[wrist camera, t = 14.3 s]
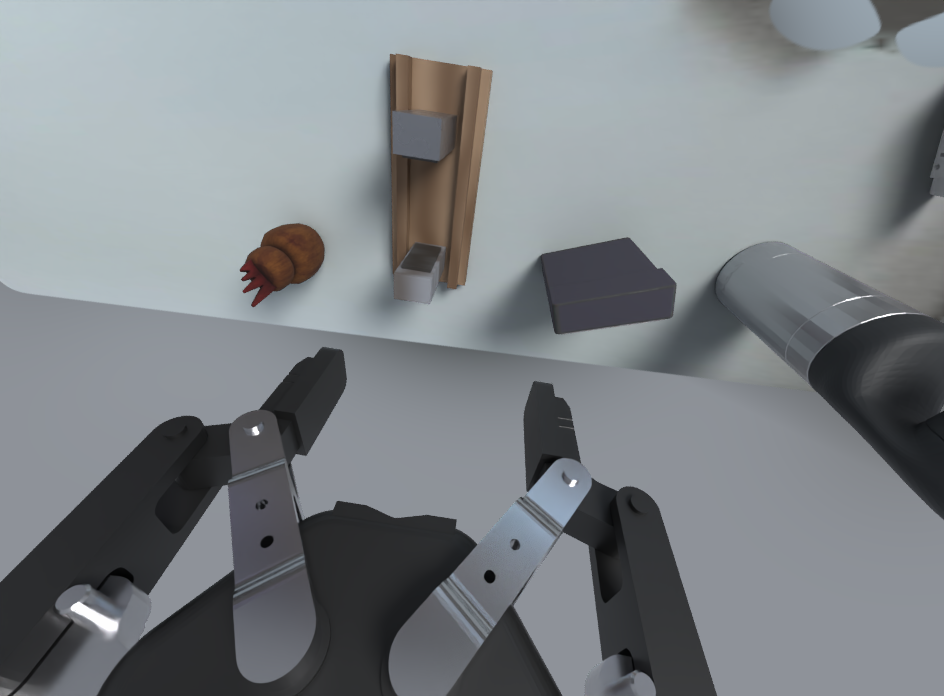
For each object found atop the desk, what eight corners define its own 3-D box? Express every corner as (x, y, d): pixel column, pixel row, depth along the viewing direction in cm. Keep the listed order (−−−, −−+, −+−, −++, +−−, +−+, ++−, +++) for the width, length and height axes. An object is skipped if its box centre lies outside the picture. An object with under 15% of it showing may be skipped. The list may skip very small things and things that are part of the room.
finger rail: (492, 71, 34) (486, 59, 24) (465, 280, 47) (455, 323, 38) (394, 55, 34) (350, 37, 24) (395, 269, 47) (368, 310, 38)
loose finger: (457, 115, 35) (441, 118, 27) (454, 152, 37) (438, 166, 29) (419, 109, 35) (392, 110, 27) (418, 147, 37) (392, 159, 29)
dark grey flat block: (543, 279, 46) (555, 341, 34) (539, 249, 44) (551, 305, 32) (628, 264, 44) (673, 325, 32) (629, 231, 41) (678, 284, 29)
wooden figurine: (337, 264, 48) (278, 318, 36) (300, 266, 48) (230, 321, 36) (319, 214, 44) (247, 256, 32) (279, 218, 44) (193, 261, 32)
